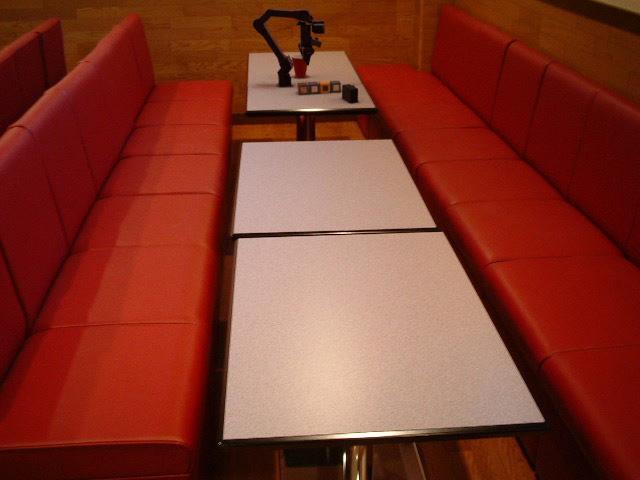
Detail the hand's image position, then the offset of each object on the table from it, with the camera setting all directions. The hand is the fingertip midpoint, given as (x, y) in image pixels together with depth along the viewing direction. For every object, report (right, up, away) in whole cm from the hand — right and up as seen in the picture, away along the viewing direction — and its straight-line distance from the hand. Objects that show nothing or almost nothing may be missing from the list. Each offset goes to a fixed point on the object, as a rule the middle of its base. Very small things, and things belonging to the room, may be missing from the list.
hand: (306, 63), depth 344 cm
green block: (+15, -16, -5) cm, 23 cm away
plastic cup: (-4, -1, +24) cm, 24 cm away
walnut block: (-2, -18, -8) cm, 20 cm away
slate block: (+4, -17, -7) cm, 19 cm away
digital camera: (+23, -25, -21) cm, 40 cm away
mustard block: (+10, -17, -6) cm, 20 cm away
